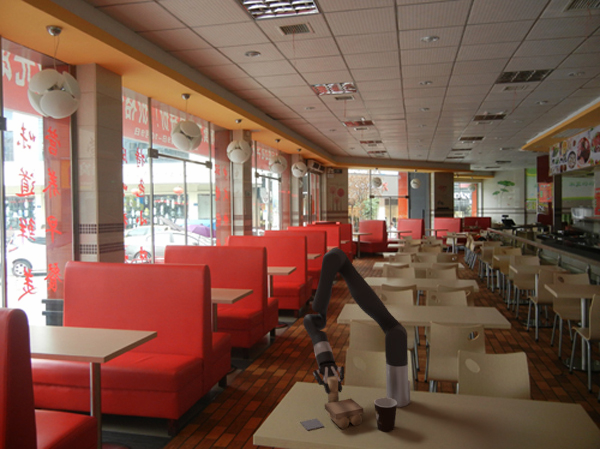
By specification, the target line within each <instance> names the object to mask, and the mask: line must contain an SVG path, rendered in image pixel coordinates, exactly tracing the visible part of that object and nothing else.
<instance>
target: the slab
mask: <svg viewBox="0 0 600 449" xmlns="http://www.w3.org/2000/svg"><path fill="white" fill-rule="evenodd" d="M324 410H326V411H327V416H328V417H329V419H331V421H333V422H334V423H335V424H336V425H337V426H338V427H339V428H341V429H343V430H344V429H345V430H346V429H347V428H348V427H349V424H350V423H351V424H352V425H353V426H355V427H356V426H357V427H358V426H359V425H361V423H362V420H363V417H362V416H361V414H364V407H363V406H361V405H360V404H359V403H358V402H357V401H355V400H354V399H352V398H347V399H342V400H339V401H336V402H331V403H329V402H327V403H326V402H325V403H324Z"/></svg>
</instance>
